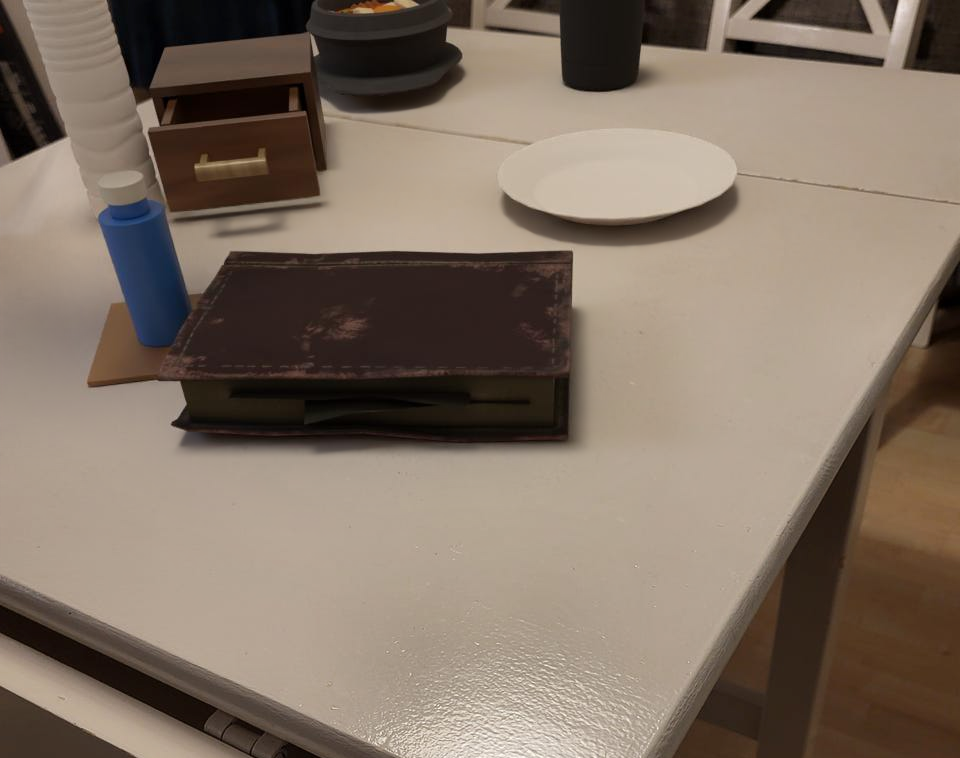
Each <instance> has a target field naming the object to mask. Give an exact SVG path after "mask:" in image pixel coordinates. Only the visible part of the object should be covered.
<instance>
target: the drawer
mask: <svg viewBox="0 0 960 758" xmlns="http://www.w3.org/2000/svg"><path fill="white" fill-rule="evenodd" d="M147 136H148V139H149V143H150V147H151V150H152V153H153V157H154V161H155V164H156V168H157V172H158V175H159V179H160V182H161V185H162V189H163V192H164V196H165V199H166V203H167V207H168V211H169V213H176V212H178V213H179V212H187V211H196V210H203V209H212V208H213V209H214V208H221V207H230V206H231V207H232V206H240V205H249V204H258V203H268V202H276V201H285V200H293V199H294V200H295V199H303V198H311V197H313V198H314V197H319V196H321V189H320V183H319V177H318V170H317V171H316V165H315V159H314V153H313V147H312V141H311V136H310V130H309V124H308V118H307V112H306V111H304V108H303V102H302V96H301V90H300V84H299V83H296V84H287V85H277V86H268V87H258V88H248V89H239V90H229V91H220V92H210V93H201V94H191V95H181V96H172V97H170V98H169V101H168V104H167V107H166V110H165V114H164V117H163V120H162V123H161V126H159V125H158V126H149V127H148V130H147Z"/></svg>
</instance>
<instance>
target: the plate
mask: <svg viewBox="0 0 960 758" xmlns="http://www.w3.org/2000/svg"><path fill="white" fill-rule="evenodd" d="M738 174H739V172H738V168H737V163H736V161H735V160H734V158H733V157H732V156H731V155H730V154H729V153H728V151H726V150H724V149H723V148H721V147H720V146H717V145H716V144H714V143H713V142H709V141H707V140H705V139H701V138H698V137H695V136H692V135H687V134H683V133H678V132H674V131H668V130H661V129H660V130H659V129H649V128H622V127H621V128H619V127H618V128H617V127H615V128H601V129H589V130H581V131H574V132H568V133H563V134H560V135H556V136H551V137H548V138H544V139H541V140H538V141H536V142H533V143H531V144H528V145H526V146H523V147H521V148H520V149H518V150H517V151H515V152H513V153H512V154H510V155H509V156H508V157H507V158H506V159H505V160H504V161H503V162H502V163H501V164H500V166H499V168H498V172H497V174H496V175H497V176H496V180H497V182H498V185H499V187H500V190H501V191H503V192H504V194H505V195H507V196H508V197H509V198H510V199H511V200H513V201H515V202H518V203H520V204H522V205H524V206H526V207H527V208H530V209H532V210H536V211H540V212H543V213H547V214H549V215H552V216H554V217H557V218H560V219H563V220H566V221H570V222H573V223H575V224H584V225H591V226H605V227H606V226H607V227H608V226H609V227H619V226H633V225H639V224H644V223H645V224H646V223H652V222H655V221H658V220H662V219H665V218H668V217H670V216H673V215H675V214H678V213H680V212H684V211H686V210H689V209H694V208H697V207H700V206H702V205H704V204H707V203H709V202H711V201H713V200H714V199H717V198H719V197H720V196H722V195H723V194H724V193H725V192H726V191H728V190H729V189H730V188H731V187H733V185H734V183H735V180H736V178H737V176H738Z"/></svg>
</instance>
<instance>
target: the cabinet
mask: <svg viewBox="0 0 960 758" xmlns="http://www.w3.org/2000/svg"><path fill="white" fill-rule="evenodd" d="M311 36H312V35H311V34H310V32H305V33H296V34H295V33H293V34H285V35H276V36H264V37H255V38H247V39H245V38H244V39H236V40H225V41H216V42H206V43H198V44H196V43H195V44H188V45H187V44H186V45H177V46H176V45H175V46H167V47H166V46H165V47H164V49H163V52H162V54H161V57H160V60H159V62H158V64H157V67H156V70H155V72H154V75H153V78H152V80H151V83H150V85H149V93H150V96H151V100H152V105H153V107H154V112H155V115H156V119H157V122H158V127H159V126H161V123H162V120H163V117H164V114H165V110H166V107H167V104H168V101H169V98H170V97H172V96H181V95H191V94H201V93H210V92H220V91H229V90H239V89H248V88H258V87H268V86H277V85H287V84H296V83H299V84H300V90H301V96H302V102H303V108H304V111H306V112H307V118H308V124H309V130H310V136H311V141H312V147H313V153H314V159H315V165H316V171H317V172H318V171H326V170H327V169H328V168H327V146H326V124H325V118H324V112H323V105H322V98H321V91H320V85H319V80H318V79H317V73H316V67H315V61H314V56H315V55H314V49H313V43H312V37H311Z"/></svg>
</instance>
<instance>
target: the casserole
mask: <svg viewBox="0 0 960 758" xmlns="http://www.w3.org/2000/svg"><path fill="white" fill-rule="evenodd" d="M453 15H454V13H453V11H452V9H451V8H450V7H449V6H448V5H447V3H446V0H314V1H313V2H312V4H311V7H310V17H309V19H308V21H307V22H306V24H305V29H306V31H307V32H308V33H310V36H312V37H313V39H314V43H315V45H316V49H317V51H318V54H315V55H314V61H315V67H316V73H317V79H318V82H321V83H322V84H323V83H324V84H325V85H326V86H327V87H328V88H329V89H331V90H332V91H333V92H334V93H337V94H340V95H343V96H355V97H357V96H360V97H361V96H362V97H363V96H365V97H369V96H386V95H387V96H388V95H395V94H403V93H409V92H413V91H418V90H423V89H426V88H430V87H432V86H434V85H435V84H437V83H438V82H439V81H440V79H441V78H442V77H443V76H444V75H445V74H446V73H447V72H448V71H450V70H451V69H453V68H454V67H456V66H457V65H458V64H459V63H460V62H461V61H462V59H463V52H462V51H461V49H460V48H459V47H458V46H456V45H455V44H453V43H451V42H448V41H447V36H448V35H447V34H448V25H449V23H450V21H451V20H452V18H453Z"/></svg>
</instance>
